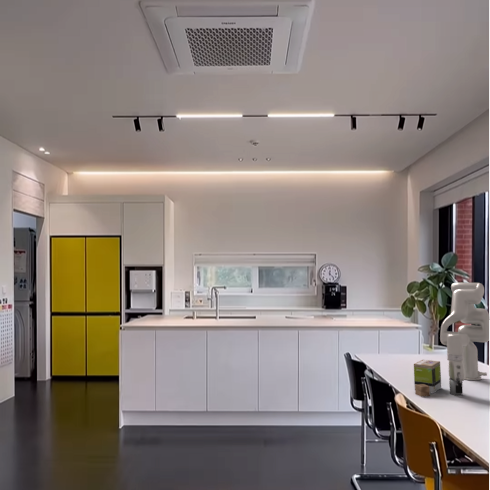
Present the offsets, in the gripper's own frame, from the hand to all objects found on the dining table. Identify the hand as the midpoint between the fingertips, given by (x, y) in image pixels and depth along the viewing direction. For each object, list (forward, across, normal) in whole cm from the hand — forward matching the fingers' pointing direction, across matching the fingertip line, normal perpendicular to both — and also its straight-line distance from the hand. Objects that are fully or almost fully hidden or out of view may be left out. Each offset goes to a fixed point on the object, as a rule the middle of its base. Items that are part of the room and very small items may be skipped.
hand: (455, 390), depth 242 cm
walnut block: (+2, -4, +18) cm, 19 cm away
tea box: (+2, +8, +12) cm, 15 cm away
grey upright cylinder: (+2, 0, 0) cm, 2 cm away
